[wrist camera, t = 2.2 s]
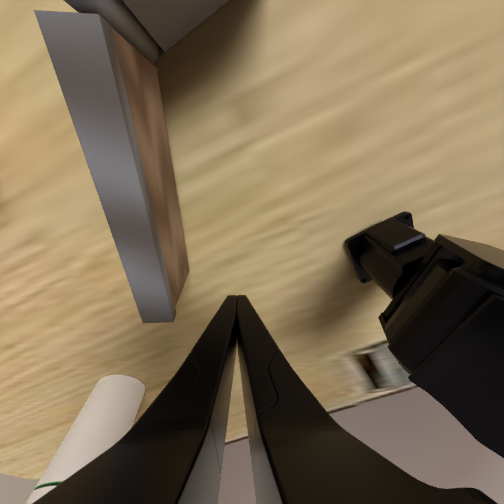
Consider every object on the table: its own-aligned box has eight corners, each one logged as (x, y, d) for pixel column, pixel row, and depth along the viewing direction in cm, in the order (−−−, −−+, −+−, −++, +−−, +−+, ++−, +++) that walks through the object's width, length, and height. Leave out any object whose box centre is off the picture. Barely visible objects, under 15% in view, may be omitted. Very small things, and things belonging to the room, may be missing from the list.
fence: (272, -32, 12) (316, -255, 5) (-12, 196, 17) (-174, 231, 10) (237, -142, 10) (237, -702, 3) (-69, 150, 15) (-311, 155, 8)
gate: (126, 66, 13) (31, 2, 7) (161, 68, 13) (96, 5, 7) (170, 271, 21) (143, 323, 15) (192, 270, 21) (173, 322, 15)
